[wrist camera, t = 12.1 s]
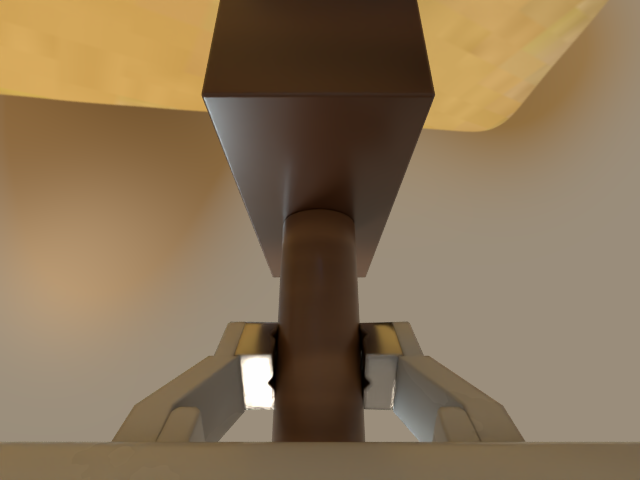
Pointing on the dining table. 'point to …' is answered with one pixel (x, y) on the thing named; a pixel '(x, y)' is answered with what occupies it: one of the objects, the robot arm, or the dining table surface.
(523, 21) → the dining table surface
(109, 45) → the dining table surface
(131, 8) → the dining table surface
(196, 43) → the dining table surface
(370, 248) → the mallet
